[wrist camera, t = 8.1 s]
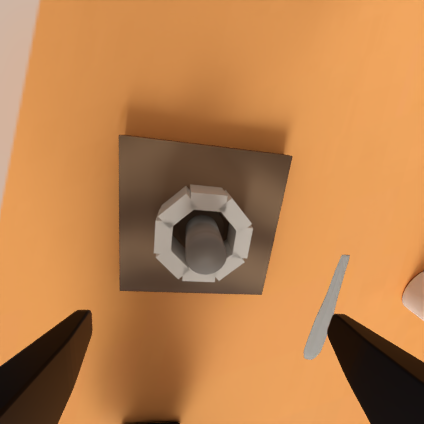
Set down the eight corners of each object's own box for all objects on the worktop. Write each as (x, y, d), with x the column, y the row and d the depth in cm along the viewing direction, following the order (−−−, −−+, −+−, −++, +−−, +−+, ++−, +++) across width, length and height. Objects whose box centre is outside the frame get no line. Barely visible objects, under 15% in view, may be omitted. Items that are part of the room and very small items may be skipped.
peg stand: (256, 284, 21) (282, 337, 16) (124, 279, 20) (99, 337, 14) (283, 154, 18) (329, 163, 12) (124, 135, 16) (91, 134, 10)
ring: (235, 265, 19) (242, 283, 16) (156, 261, 18) (152, 279, 16) (248, 190, 17) (258, 198, 15) (161, 181, 16) (157, 188, 14)
